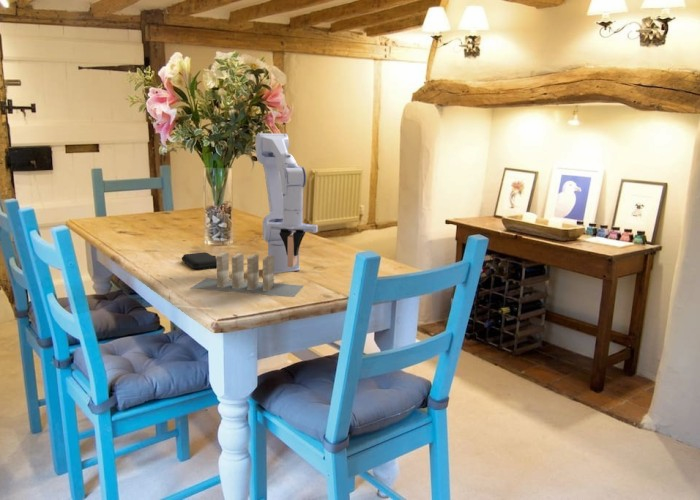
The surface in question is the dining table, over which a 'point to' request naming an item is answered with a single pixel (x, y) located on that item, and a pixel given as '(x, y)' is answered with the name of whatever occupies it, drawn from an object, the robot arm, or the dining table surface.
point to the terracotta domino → (291, 252)
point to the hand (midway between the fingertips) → (292, 254)
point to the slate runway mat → (276, 290)
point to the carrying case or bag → (200, 261)
